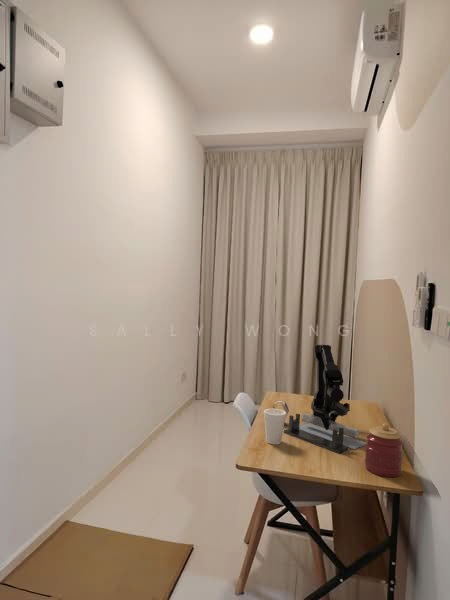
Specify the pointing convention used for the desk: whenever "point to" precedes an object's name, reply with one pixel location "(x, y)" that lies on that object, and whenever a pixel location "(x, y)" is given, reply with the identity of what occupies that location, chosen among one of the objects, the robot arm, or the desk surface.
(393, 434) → the canister
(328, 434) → the mat
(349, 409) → the robot arm
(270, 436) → the foam cup
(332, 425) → the rail
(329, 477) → the desk surface
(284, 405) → the watch
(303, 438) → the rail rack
